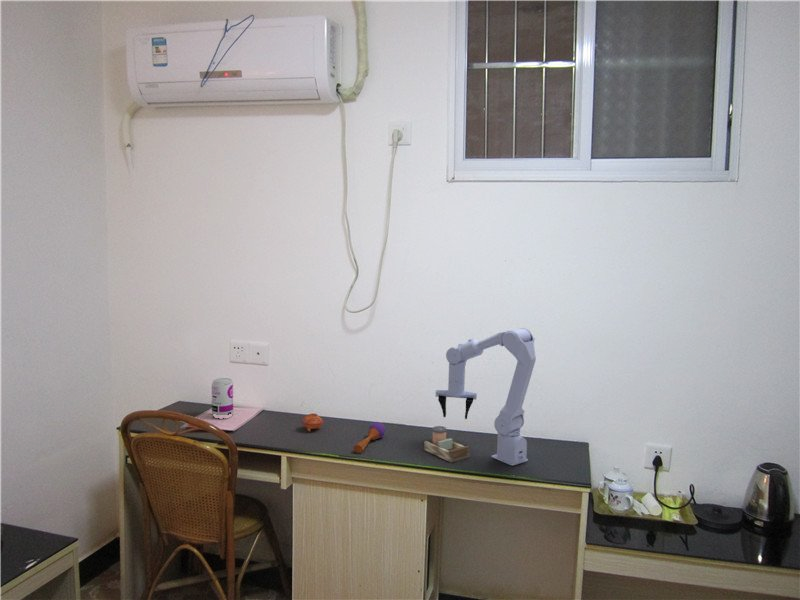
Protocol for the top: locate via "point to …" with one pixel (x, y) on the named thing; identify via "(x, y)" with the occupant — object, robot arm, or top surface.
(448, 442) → the pusher
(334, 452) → the top surface
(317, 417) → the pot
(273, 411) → the top surface
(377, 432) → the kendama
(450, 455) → the tray
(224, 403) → the supplement can
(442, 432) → the jar
